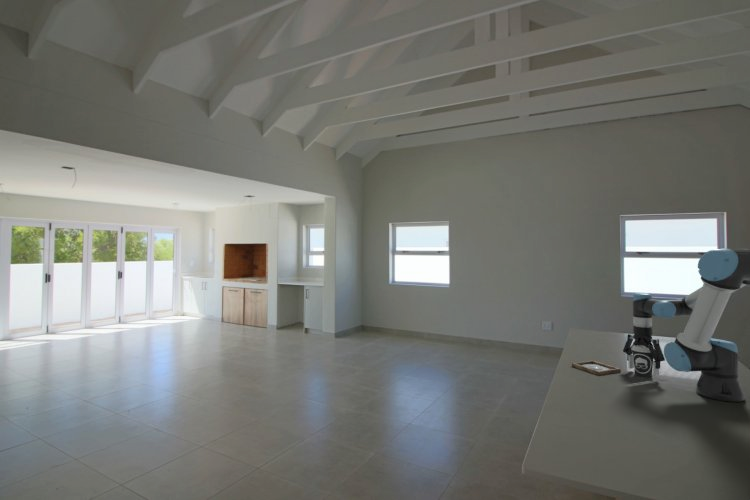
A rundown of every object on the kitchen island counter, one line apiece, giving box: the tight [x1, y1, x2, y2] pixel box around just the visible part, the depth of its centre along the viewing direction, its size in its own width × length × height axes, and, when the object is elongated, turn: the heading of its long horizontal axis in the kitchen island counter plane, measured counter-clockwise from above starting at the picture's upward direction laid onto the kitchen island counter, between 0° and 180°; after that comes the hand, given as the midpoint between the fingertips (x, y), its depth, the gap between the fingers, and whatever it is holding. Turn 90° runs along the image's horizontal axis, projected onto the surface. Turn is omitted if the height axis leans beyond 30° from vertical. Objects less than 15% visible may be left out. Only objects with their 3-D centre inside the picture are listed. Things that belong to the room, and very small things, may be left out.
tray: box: [571, 360, 622, 376], centre depth 198 cm, size 16×14×3 cm
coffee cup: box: [631, 343, 654, 378], centre depth 189 cm, size 10×10×15 cm
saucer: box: [582, 364, 610, 371], centre depth 198 cm, size 13×13×1 cm
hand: (643, 371), depth 189 cm, fingers open, 11 cm apart
